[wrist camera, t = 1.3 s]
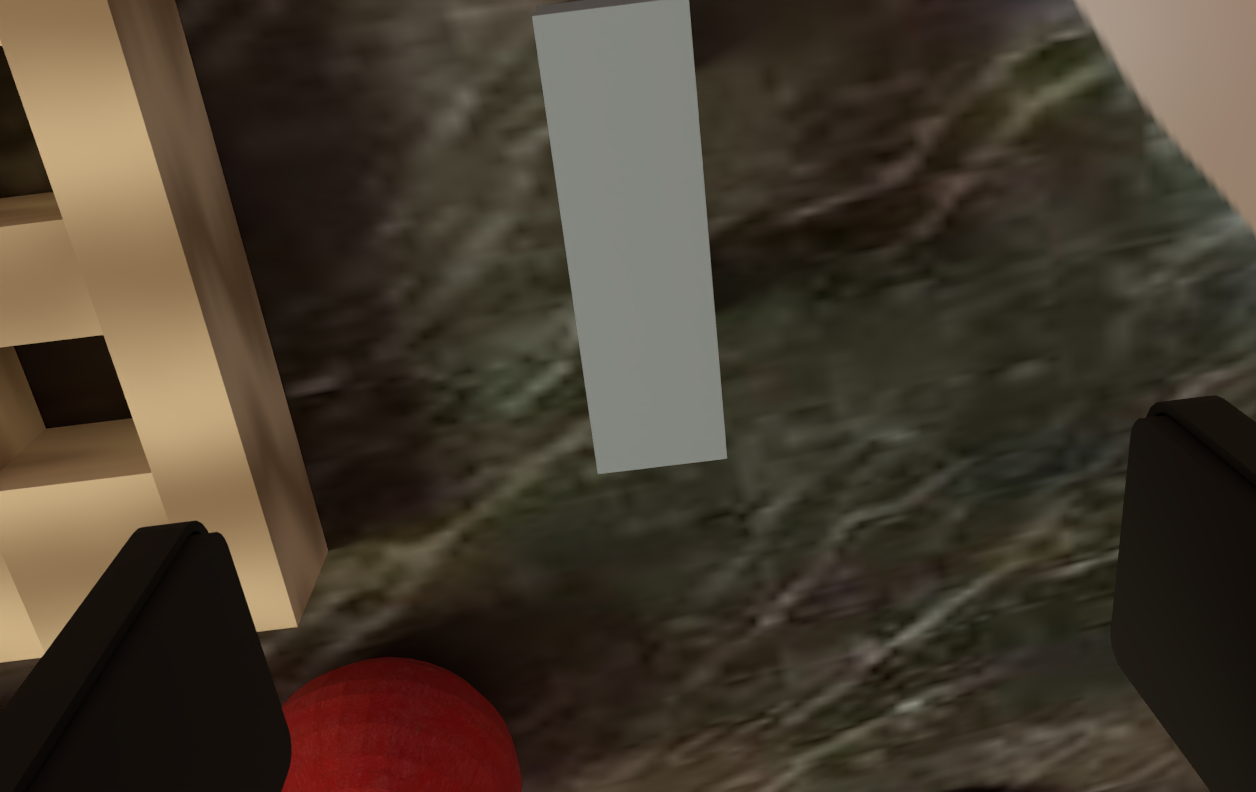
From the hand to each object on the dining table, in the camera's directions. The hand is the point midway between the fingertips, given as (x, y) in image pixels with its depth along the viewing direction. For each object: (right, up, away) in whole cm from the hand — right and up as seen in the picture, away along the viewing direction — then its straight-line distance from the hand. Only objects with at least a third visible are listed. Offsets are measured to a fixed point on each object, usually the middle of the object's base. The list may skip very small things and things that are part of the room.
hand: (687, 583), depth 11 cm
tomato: (-9, -9, +26) cm, 29 cm away
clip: (-1, +8, +18) cm, 20 cm away
